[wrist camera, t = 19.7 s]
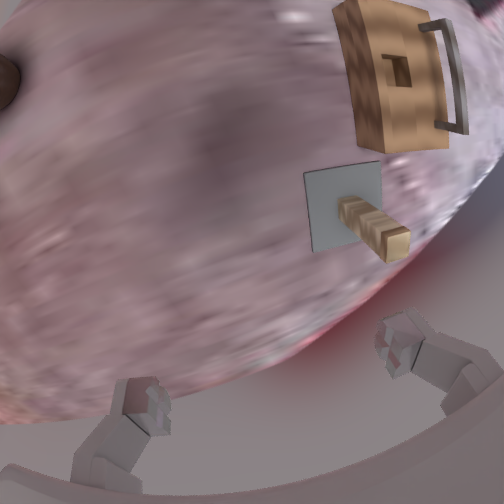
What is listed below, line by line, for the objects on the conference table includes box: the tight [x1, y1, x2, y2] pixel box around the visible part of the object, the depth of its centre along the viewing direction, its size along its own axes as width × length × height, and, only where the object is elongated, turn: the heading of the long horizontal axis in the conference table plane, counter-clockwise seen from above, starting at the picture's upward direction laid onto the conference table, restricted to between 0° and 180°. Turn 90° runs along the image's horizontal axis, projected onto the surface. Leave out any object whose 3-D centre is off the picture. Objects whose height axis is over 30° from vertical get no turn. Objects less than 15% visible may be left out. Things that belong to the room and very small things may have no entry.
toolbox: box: [332, 0, 469, 154], centre depth 28 cm, size 24×14×14 cm, turn 11°
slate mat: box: [303, 161, 382, 253], centre depth 44 cm, size 14×14×1 cm
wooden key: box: [337, 195, 411, 263], centre depth 37 cm, size 4×4×15 cm
